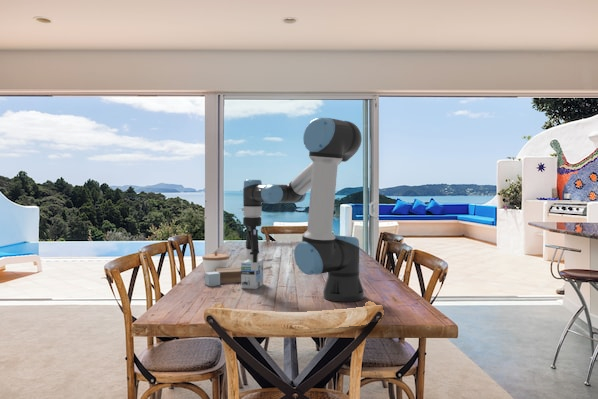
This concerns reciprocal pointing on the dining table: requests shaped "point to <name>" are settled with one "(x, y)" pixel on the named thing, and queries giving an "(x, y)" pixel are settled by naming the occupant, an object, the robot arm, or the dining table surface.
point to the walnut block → (229, 274)
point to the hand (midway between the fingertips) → (251, 267)
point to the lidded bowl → (215, 261)
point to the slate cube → (212, 278)
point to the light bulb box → (251, 275)
